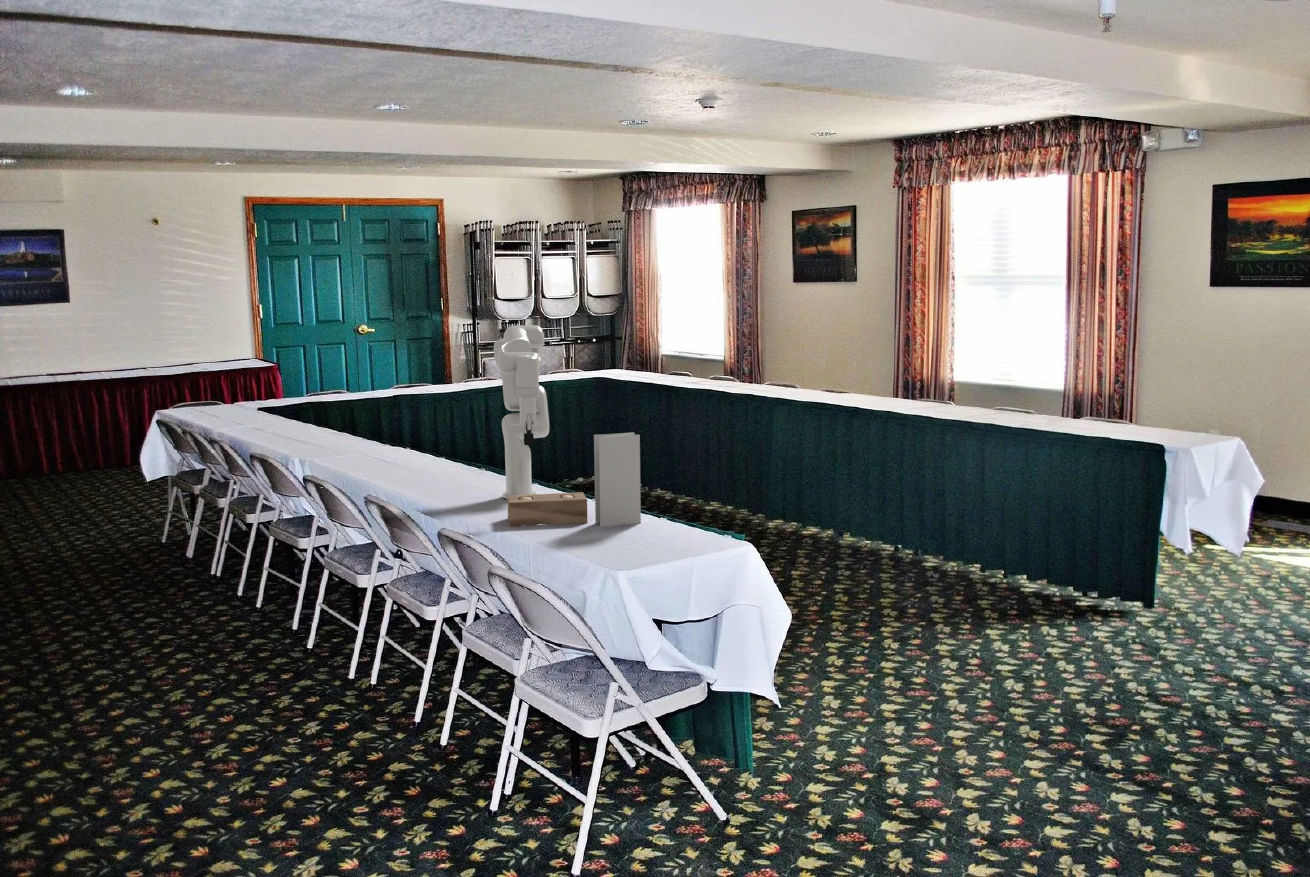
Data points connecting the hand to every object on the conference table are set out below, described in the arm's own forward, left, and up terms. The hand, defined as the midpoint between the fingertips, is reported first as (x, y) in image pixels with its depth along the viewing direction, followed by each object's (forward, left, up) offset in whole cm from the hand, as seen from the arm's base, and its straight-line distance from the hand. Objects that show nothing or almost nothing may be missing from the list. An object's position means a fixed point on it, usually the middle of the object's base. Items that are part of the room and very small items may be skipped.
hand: (528, 444), depth 375 cm
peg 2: (+7, +12, -25) cm, 29 cm away
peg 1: (+7, -2, -25) cm, 26 cm away
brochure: (+16, +28, -26) cm, 41 cm away
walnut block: (+7, +5, -25) cm, 27 cm away
